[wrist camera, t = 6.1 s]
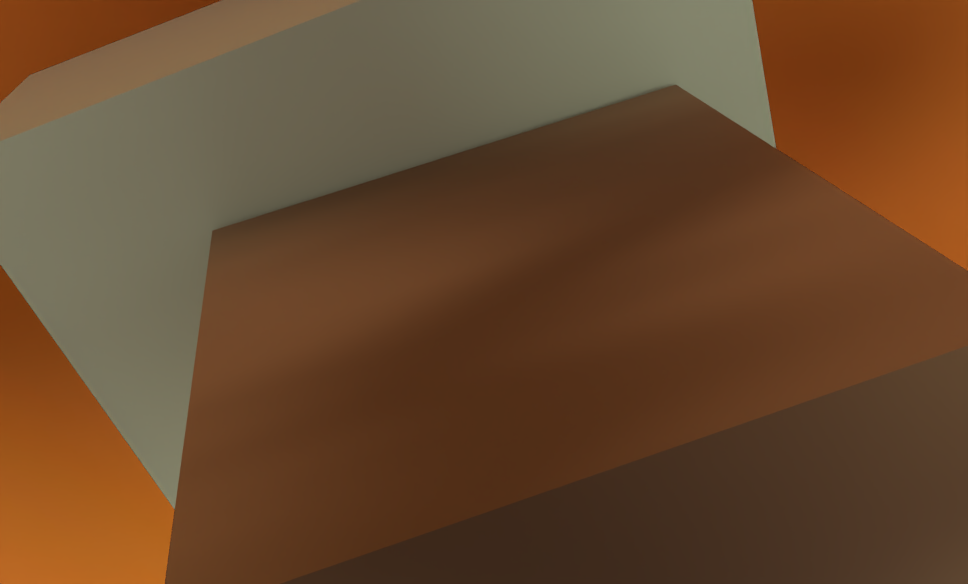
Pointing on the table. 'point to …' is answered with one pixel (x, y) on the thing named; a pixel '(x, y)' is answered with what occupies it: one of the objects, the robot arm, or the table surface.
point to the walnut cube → (579, 374)
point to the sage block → (294, 146)
